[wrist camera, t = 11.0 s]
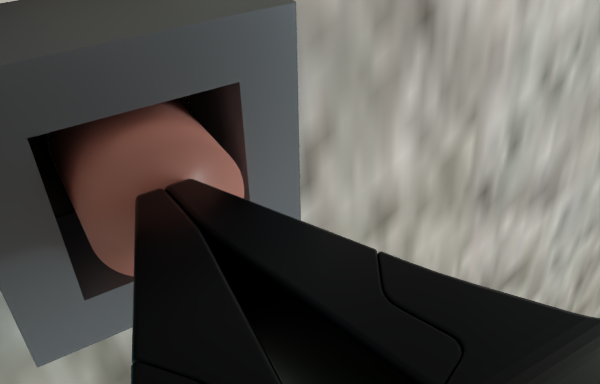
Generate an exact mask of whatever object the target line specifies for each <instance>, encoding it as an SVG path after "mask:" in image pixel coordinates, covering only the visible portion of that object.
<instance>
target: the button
mask: <svg viewBox="0 0 600 384" xmlns="http://www.w3.org/2000/svg"><path fill="white" fill-rule="evenodd" d="M48 148H49V152H50V156H51V158H52V160H53V163H54V165H55V167H56V169H57V172H58V174H59V176H60V178H61V180H62V183H63V185H64V187H65V189H66V191H67V194H68V196H69V198H70V200H71V202H72V205H73V207H74V209H75V211H76V214H77V216H78V218H79V220H80V222H81V225H82V227H83V229H84V231H85V233H86V236H87V238H88V240H89V242H90V244H91V247H92V249H93V250H94V252H95V254H96V255H97V256H98V258H99V259H100V260H101V261H102V262H103V263H104V264H106V265H107V266H108V267H110V268H111V269H113V270H115V271H117V272H119V273H122V274H125V275H129V276H133V277H134V240H135V199H136V197H137V196H138V195H140V194H143V193H146V192H149V191H152V190H156V189H159V188H162V189H164V190H165V188H166V187H167V186H168V185H171V184H174V183H177V182H180V181H183V180H186V179H195V180H197V181H200V182H202V183H205V184H208V185H210V186H213V187H215V188H218V189H220V190H223V191H226V192H228V193H231V194H233V195H236V196H239V197H241V198H244V183H243V178H242V175H241V172H240V170H239V168H238V166H237V164H236V163H235V161H234V160H233V159H232V158H231V156H230V155H229V154H228V153H227V152H226V151H225V150H224V149H223V148H222V147H221V146H220V145H219V144H218V143H217V141H216V140H215V139H214V138H213V137H212V136H211V135H210V134H209V133H208V132H207V131H206V130H205V129H204V127H203V126H202V125H201V124H200V123H199V122H198V121H197V120H196V119H195V118H194V117H193V116H192V115H191V113H190V112H189V111H188V110H187V109H186V108H185V107H184V106H183V105H182V104H181V103H180V102H179V101H178V99H173V100H170V101H166V102H162V103H158V104H155V105H151V106H147V107H143V108H140V109H136V110H132V111H128V112H125V113H121V114H117V115H113V116H110V117H106V118H102V119H98V120H95V121H91V122H87V123H83V124H80V125H76V126H72V127H68V128H65V129H61V130H57V131H53V132H50V133H48Z"/></svg>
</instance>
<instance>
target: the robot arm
mask: <svg viewBox="0 0 600 384" xmlns="http://www.w3.org/2000/svg"><path fill="white" fill-rule="evenodd" d="M132 363H133V364H132V366H131V384H600V318H595V317H589V316H585V315H581V314H577V313H573V312H569V311H566V310H562V309H559V308H555V307H552V306H548V305H545V304H542V303H538V302H535V301H531V300H528V299H524V298H521V297H518V296H514V295H511V294H507V293H504V292H500V291H497V290H493V289H490V288H487V287H483V286H480V285H476V284H473V283H470V282H467V281H464V280H460V279H457V278H454V277H451V276H448V275H444V274H441V273H438V272H435V271H433V270H430V269H427V268H424V267H422V266H419V265H416V264H413V263H410V262H408V261H405V260H402V259H400V258H397V257H394V256H392V255H389V254H387V253H384V252H379V253H378V254H377V251H376V250H375V249H373V248H371V247H368V246H365V245H363V244H360V243H358V242H355V241H352V240H350V239H347V238H345V237H342V236H340V235H337V234H334V233H332V232H329V231H327V230H324V229H321V228H319V227H316V226H314V225H311V224H308V223H306V222H303V221H301V220H298V219H296V218H293V217H290V216H288V215H285V214H283V213H280V212H277V211H275V210H272V209H270V208H267V207H264V206H262V205H259V204H257V203H254V202H252V201H249V200H246V199H244V198H241V197H239V196H236V195H233V194H231V193H228V192H226V191H223V190H220V189H218V188H215V187H213V186H210V185H208V184H205V183H202V182H200V181H197V180H195V179H186V180H183V181H180V182H177V183H174V184H171V185H168V186H167V187H166V188H165V190H164V189H162V188H159V189H156V190H152V191H149V192H146V193H143V194H140V195H138V196H137V197H136V199H135V240H134V288H133V335H132Z"/></svg>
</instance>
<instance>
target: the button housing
mask: <svg viewBox="0 0 600 384" xmlns="http://www.w3.org/2000/svg"><path fill="white" fill-rule="evenodd" d="M188 95H190V102H191V108H192V115H193V117H194V118H195V119H196V120H197V121H198V122H199V123H200V124H201V125H202V126H203V127H204V129H205V130H206V131H207V132H208V133H209V134H210V135H211V136H212V137H213V138H214V139H215V140H216V141H217V143H218V144H219V145H220V146H221V147H222V148H223V149H224V150H225V151H226V152H227V153H228V154H229V155H230V156H231V158H232V159H233V160H234V161H235V163H236V164H237V166H238V168H239V170H240V172H241V175H242V178H243V183H244V199H246V200H249V201H252V202H254V203H257V204H259V205H262V206H264V207H267V208H270V209H272V210H275V211H277V212H280V213H283V214H285V215H288V216H290V217H293V218H296V219H298V220H301V211H300V164H299V118H298V72H297V25H296V2H295V1H293V0H18V1H12V2H6V3H1V4H0V290H1V292H2V294H3V296H4V298H5V300H6V303H7V305H8V307H9V309H10V311H11V313H12V315H13V317H14V319H15V322H16V324H17V326H18V328H19V330H20V332H21V334H22V336H23V338H24V341H25V343H26V345H27V347H28V349H29V351H30V353H31V355H32V357H33V360H34V362H35V364H36V366H37V367H40V366H42V365H44V364H47V363H49V362H52V361H54V360H56V359H59V358H61V357H63V356H66V355H68V354H70V353H73V352H75V351H77V350H80V349H82V348H85V347H87V346H89V345H92V344H94V343H96V342H99V341H101V340H103V339H106V338H108V337H110V336H113V335H115V334H118V333H120V332H122V331H125V330H127V329H129V328H132V327H133V288H134V277H133V276H129V275H125V274H122V273H119V272H117V271H115V270H113V269H111V268H110V267H108V266H107V265H106V264H104V263H103V262H102V261H101V260H100V259H99V258H98V256H97V255H96V254H95V252H94V250H93V249H92V247H91V244H90V242H89V240H88V238H87V236H86V233H85V231H84V229H83V227H82V225H81V222H80V220H79V218H78V216H77V214H76V212H74V213H71V214H68V215H65V216H61V217H58V218H55V216H54V213H53V210H52V207H51V204H50V201H49V199H48V196H47V193H46V190H45V187H44V184H43V182H42V179H41V176H40V173H39V170H38V168H37V165H36V162H35V159H34V156H33V153H32V151H31V148H30V145H29V142H28V139H27V138H31V137H35V136H38V135H42V134H46V133H50V132H53V131H57V130H61V129H65V128H68V127H72V126H76V125H80V124H83V123H87V122H91V121H95V120H98V119H102V118H106V117H110V116H113V115H117V114H121V113H125V112H128V111H132V110H136V109H140V108H143V107H147V106H151V105H155V104H158V103H162V102H166V101H170V100H173V99H177V98H181V97H185V96H188Z"/></svg>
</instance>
